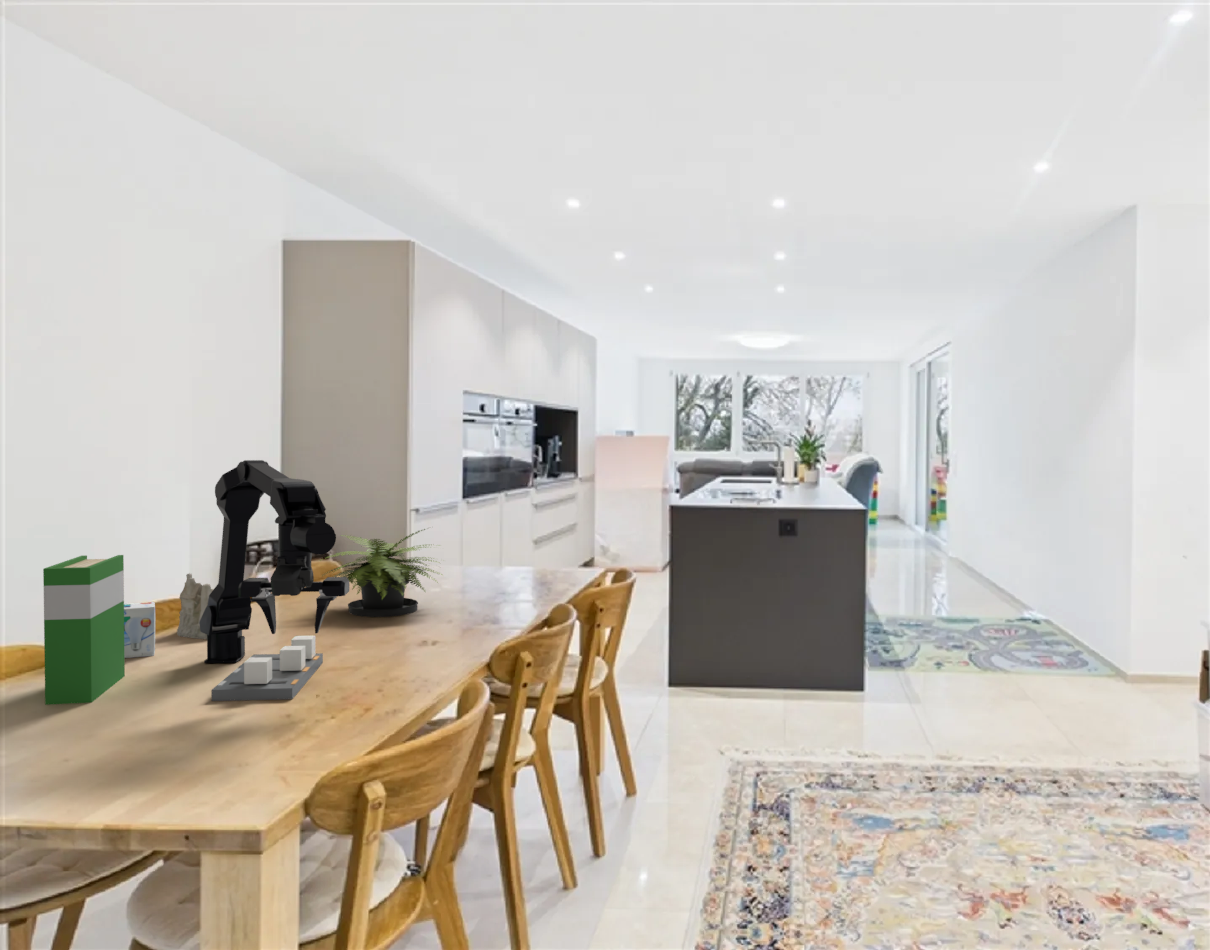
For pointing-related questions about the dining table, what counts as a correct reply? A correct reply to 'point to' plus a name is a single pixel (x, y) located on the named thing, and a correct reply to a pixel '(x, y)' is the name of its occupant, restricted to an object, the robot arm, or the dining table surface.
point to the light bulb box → (139, 629)
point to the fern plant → (383, 579)
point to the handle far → (307, 642)
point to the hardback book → (83, 628)
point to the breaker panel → (276, 688)
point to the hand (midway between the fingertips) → (295, 633)
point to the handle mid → (292, 658)
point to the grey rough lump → (193, 608)
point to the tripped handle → (258, 670)
